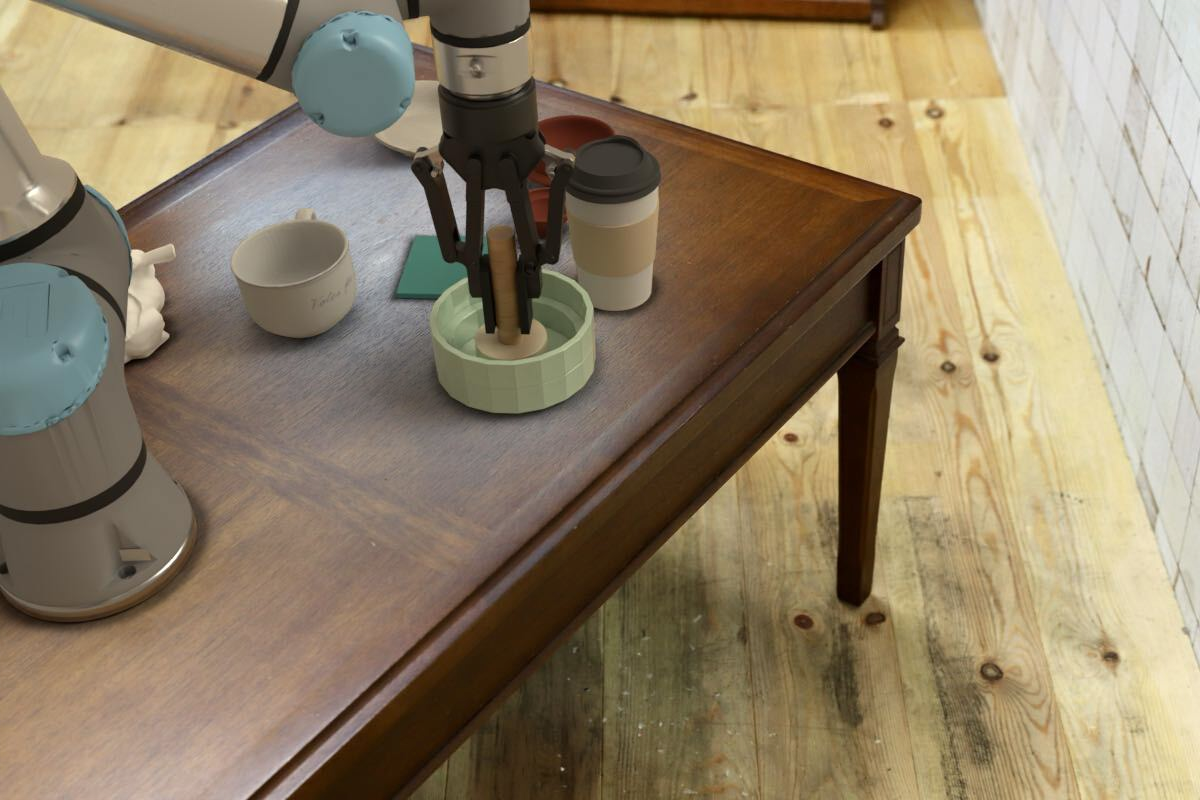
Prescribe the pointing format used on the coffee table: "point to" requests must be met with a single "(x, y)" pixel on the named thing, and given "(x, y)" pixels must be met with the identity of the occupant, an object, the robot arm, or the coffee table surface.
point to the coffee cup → (614, 221)
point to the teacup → (296, 275)
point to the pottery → (560, 136)
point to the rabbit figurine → (146, 304)
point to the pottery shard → (416, 122)
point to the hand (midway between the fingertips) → (509, 324)
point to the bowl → (524, 379)
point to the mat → (430, 270)
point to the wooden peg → (507, 305)
